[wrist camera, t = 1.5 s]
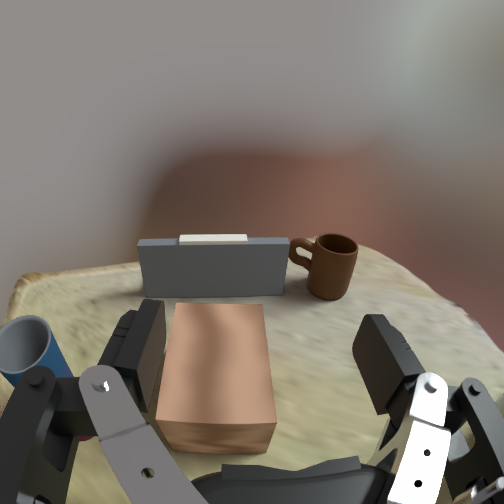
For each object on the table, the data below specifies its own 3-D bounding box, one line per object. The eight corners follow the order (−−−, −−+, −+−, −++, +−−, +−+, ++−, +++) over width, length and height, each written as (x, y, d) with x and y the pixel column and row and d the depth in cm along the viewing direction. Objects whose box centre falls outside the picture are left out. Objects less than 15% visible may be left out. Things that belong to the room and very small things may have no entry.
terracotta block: (256, 352, 38) (262, 304, 33) (265, 453, 25) (277, 422, 20) (183, 350, 37) (176, 302, 32) (173, 451, 24) (155, 419, 19)
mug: (279, 294, 49) (286, 246, 44) (284, 269, 55) (290, 225, 50) (347, 304, 47) (362, 258, 42) (344, 278, 53) (356, 236, 48)
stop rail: (274, 271, 54) (280, 220, 49) (282, 294, 48) (290, 240, 43) (152, 273, 51) (145, 221, 46) (146, 297, 45) (136, 242, 40)
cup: (75, 457, 20) (-1, 386, 12) (50, 416, 24) (-14, 335, 16) (116, 429, 25) (62, 348, 17) (88, 391, 28) (38, 304, 21)
